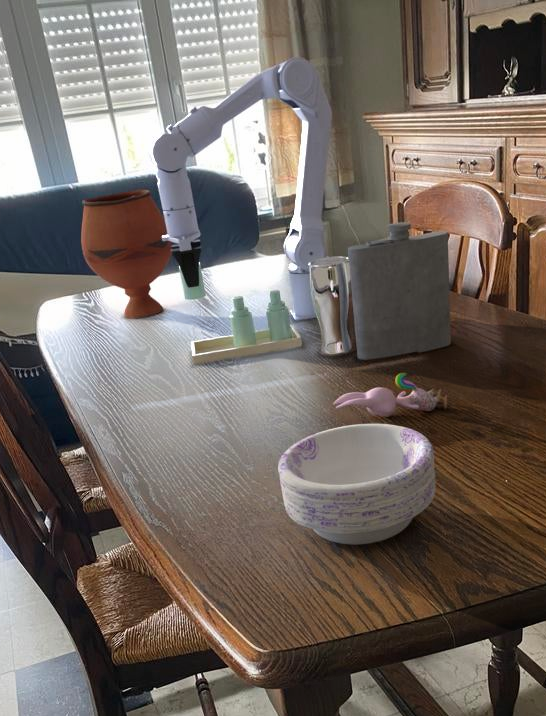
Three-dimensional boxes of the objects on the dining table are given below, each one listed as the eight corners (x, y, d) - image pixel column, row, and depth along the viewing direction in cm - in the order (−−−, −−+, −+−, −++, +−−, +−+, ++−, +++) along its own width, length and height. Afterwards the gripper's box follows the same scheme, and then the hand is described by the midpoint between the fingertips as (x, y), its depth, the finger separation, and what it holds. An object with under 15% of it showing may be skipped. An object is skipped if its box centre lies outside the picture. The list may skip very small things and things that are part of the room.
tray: (295, 334, 139) (293, 324, 138) (302, 348, 131) (301, 337, 130) (192, 351, 138) (190, 341, 137) (194, 366, 129) (191, 355, 129)
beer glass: (330, 361, 123) (320, 267, 115) (311, 352, 128) (300, 262, 121) (366, 351, 125) (359, 258, 118) (345, 342, 131) (337, 254, 123)
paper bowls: (285, 497, 83) (275, 431, 79) (420, 478, 83) (417, 412, 79) (290, 572, 70) (278, 498, 66) (452, 551, 70) (449, 475, 66)
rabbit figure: (433, 407, 104) (328, 410, 101) (438, 365, 101) (331, 367, 98) (449, 423, 98) (339, 426, 96) (455, 379, 96) (342, 381, 93)
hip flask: (446, 339, 125) (442, 213, 115) (455, 346, 122) (452, 216, 112) (355, 357, 123) (343, 230, 113) (362, 364, 119) (351, 233, 110)
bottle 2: (290, 337, 136) (284, 287, 132) (294, 343, 133) (287, 292, 129) (269, 340, 136) (261, 290, 132) (271, 346, 133) (264, 295, 128)
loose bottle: (205, 293, 145) (196, 244, 140) (206, 297, 141) (197, 248, 137) (185, 296, 145) (175, 248, 140) (185, 300, 141) (175, 251, 137)
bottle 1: (255, 342, 136) (248, 293, 132) (258, 349, 132) (250, 298, 128) (234, 346, 136) (225, 296, 131) (235, 352, 132) (227, 301, 128)
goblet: (83, 326, 165) (51, 206, 153) (131, 302, 180) (105, 191, 168) (156, 325, 158) (128, 199, 146) (200, 300, 173) (178, 184, 161)
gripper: (157, 206, 141) (172, 279, 148) (155, 216, 129) (172, 295, 135) (194, 201, 142) (207, 274, 148) (196, 210, 129) (210, 289, 136)
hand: (193, 284), depth 142 cm, fingers closed on loose bottle, 4 cm apart
